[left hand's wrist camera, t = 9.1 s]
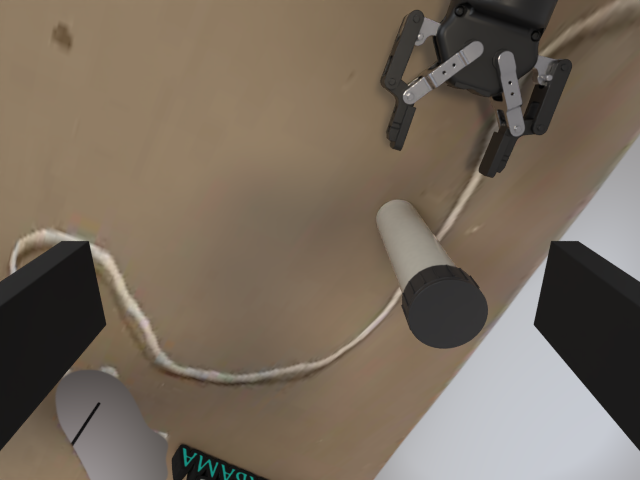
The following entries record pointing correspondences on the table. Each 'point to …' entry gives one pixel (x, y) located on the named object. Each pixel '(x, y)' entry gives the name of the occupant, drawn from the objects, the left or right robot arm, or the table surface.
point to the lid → (444, 306)
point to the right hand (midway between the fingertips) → (440, 162)
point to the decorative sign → (204, 467)
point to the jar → (408, 241)
